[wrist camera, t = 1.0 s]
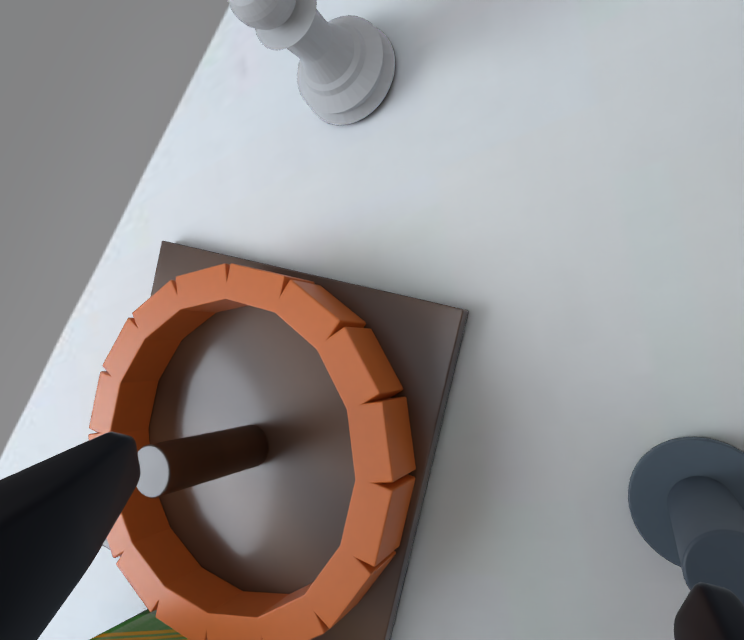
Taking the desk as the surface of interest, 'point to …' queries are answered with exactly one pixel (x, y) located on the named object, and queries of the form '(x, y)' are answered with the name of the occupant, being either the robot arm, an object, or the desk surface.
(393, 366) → the walnut stand
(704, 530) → the slate stand
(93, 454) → the robot arm
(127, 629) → the chalk box
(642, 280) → the desk surface
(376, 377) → the ring
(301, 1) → the chess piece
